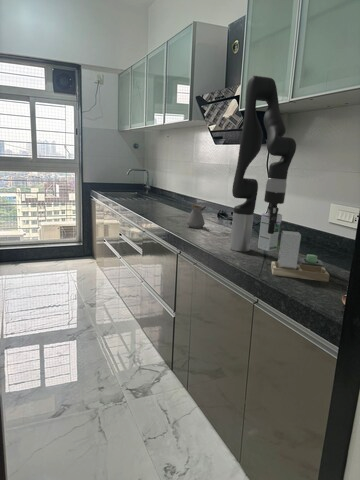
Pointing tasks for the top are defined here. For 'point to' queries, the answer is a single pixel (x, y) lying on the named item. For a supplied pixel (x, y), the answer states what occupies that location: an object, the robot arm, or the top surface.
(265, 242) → the syrup box
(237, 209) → the robot arm
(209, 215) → the top surface
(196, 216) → the coffee pot
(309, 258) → the button
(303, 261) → the dark grey square block
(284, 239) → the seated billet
